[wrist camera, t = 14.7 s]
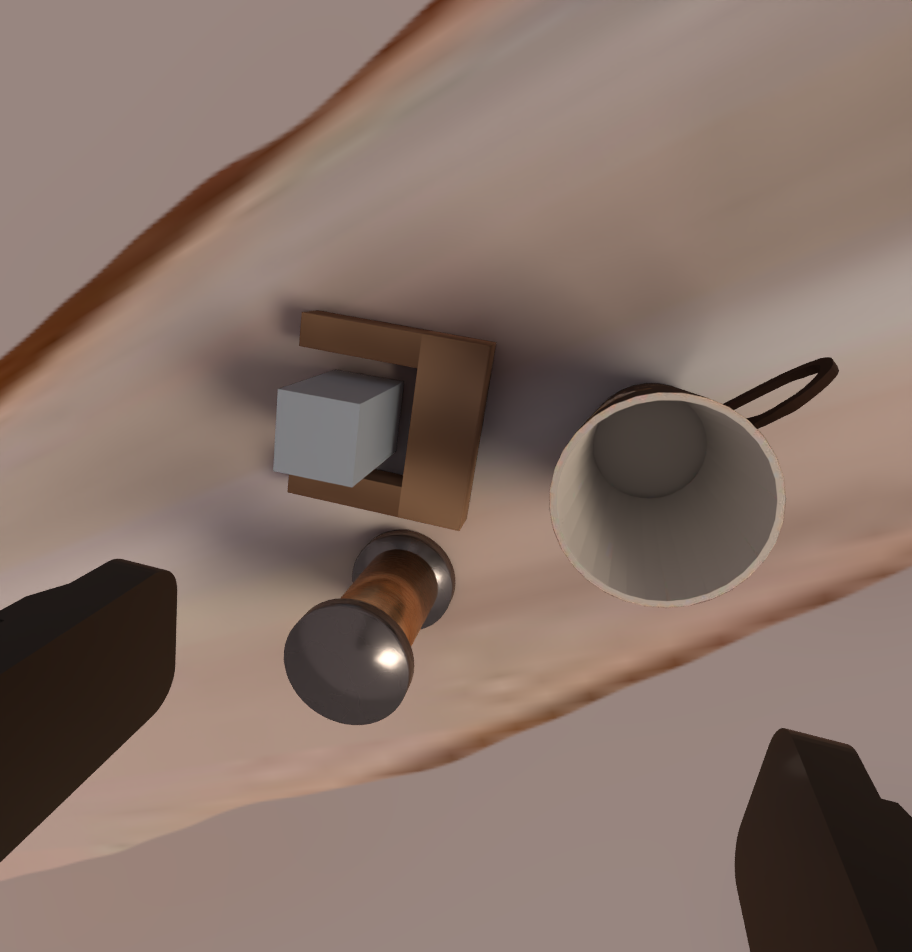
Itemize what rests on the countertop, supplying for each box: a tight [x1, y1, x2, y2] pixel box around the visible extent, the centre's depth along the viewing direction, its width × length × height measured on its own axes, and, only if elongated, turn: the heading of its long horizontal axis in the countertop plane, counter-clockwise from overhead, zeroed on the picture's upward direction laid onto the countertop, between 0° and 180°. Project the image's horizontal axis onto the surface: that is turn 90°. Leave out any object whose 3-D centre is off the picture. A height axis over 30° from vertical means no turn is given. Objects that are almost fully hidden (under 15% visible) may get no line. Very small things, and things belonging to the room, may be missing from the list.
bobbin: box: [284, 530, 455, 725], centre depth 36 cm, size 6×6×10 cm
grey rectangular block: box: [273, 370, 404, 487], centre depth 35 cm, size 4×4×7 cm
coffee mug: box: [550, 357, 839, 608], centre depth 30 cm, size 12×9×10 cm
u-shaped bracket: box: [288, 310, 496, 531], centre depth 37 cm, size 10×10×2 cm
